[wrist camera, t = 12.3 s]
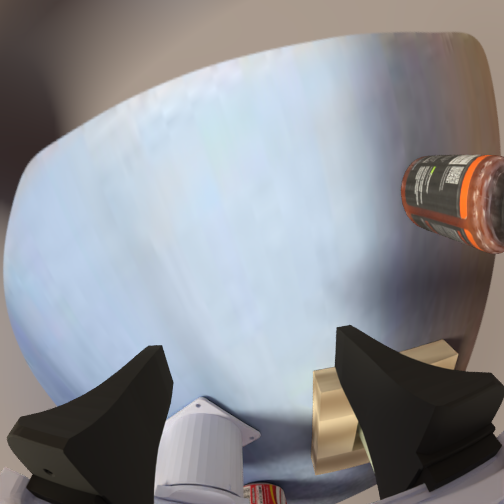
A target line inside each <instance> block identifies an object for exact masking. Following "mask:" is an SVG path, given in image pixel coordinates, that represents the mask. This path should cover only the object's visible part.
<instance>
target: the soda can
mask: <svg viewBox="0 0 504 504" xmlns="http://www.w3.org/2000/svg"><path fill="white" fill-rule="evenodd" d="M243 491H244V498H249V501H250V504H287V503H286V498H285V495H284V491H283V489H282V488H280V487H278V486H275V485H273V484H270V483H264V482H257V483H250V484H247V485H244V486H243Z"/></svg>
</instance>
